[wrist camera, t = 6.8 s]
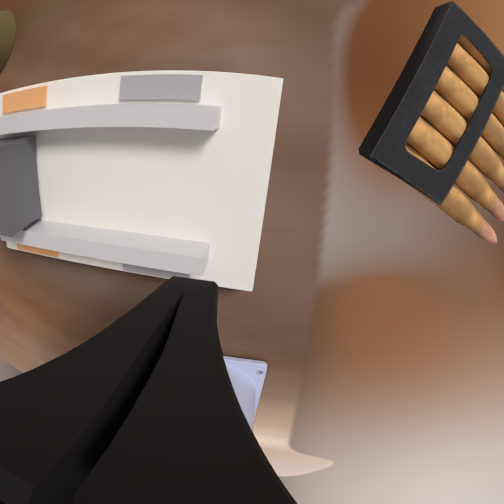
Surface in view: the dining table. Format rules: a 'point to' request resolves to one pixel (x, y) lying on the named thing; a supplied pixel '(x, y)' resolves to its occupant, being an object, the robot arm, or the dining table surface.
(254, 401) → the robot arm
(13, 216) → the switch tab
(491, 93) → the ammunition clip
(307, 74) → the dining table surface
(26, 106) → the switch board
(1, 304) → the dining table surface
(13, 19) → the green chess rook
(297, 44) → the dining table surface
